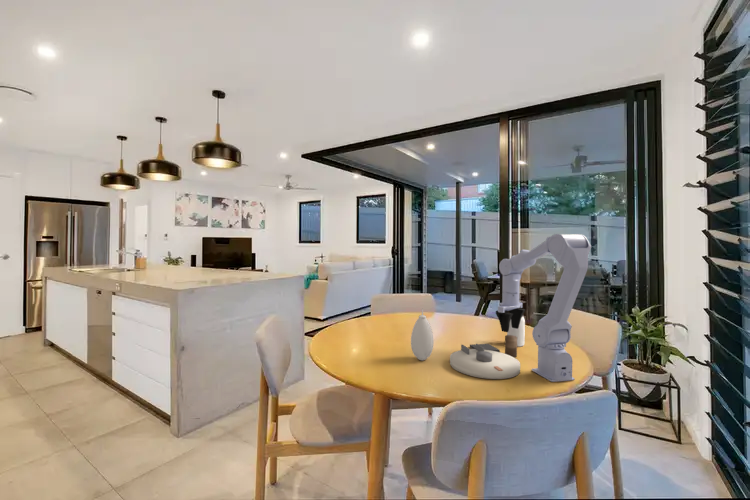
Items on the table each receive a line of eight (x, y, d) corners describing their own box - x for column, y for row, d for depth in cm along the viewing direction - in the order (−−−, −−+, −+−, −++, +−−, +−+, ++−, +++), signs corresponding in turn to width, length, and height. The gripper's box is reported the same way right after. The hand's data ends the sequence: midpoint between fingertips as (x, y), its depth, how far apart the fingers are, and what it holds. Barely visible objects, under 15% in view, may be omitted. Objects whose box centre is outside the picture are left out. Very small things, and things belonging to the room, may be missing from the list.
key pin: (519, 357, 122) (519, 337, 122) (508, 358, 121) (509, 338, 121) (512, 353, 126) (512, 334, 126) (502, 354, 125) (502, 335, 125)
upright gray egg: (432, 364, 114) (433, 310, 114) (409, 362, 116) (410, 309, 115) (433, 356, 122) (434, 306, 121) (411, 355, 123) (412, 305, 123)
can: (506, 345, 136) (506, 315, 135) (508, 341, 141) (508, 312, 141) (523, 347, 133) (524, 317, 132) (525, 343, 138) (525, 314, 138)
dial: (535, 376, 104) (535, 363, 104) (468, 381, 100) (468, 367, 100) (496, 352, 126) (496, 342, 125) (439, 356, 121) (439, 345, 121)
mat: (499, 352, 127) (499, 349, 127) (479, 353, 125) (479, 351, 125) (488, 346, 135) (488, 343, 135) (469, 347, 133) (469, 344, 133)
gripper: (509, 289, 131) (509, 324, 131) (490, 293, 121) (489, 331, 121) (528, 291, 125) (527, 328, 126) (509, 295, 116) (508, 335, 116)
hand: (510, 329), depth 123 cm, fingers open, 7 cm apart
